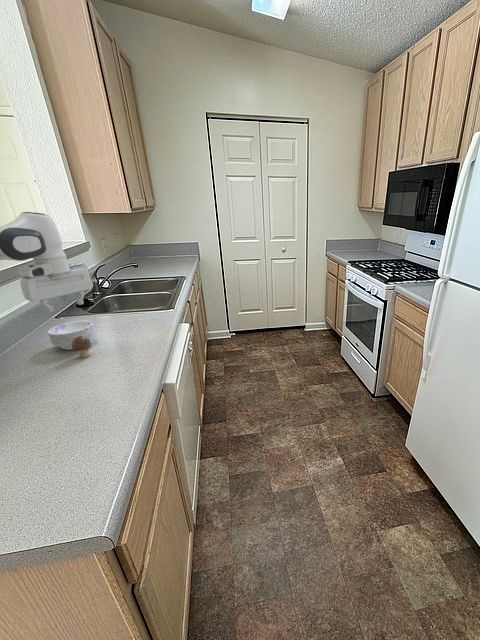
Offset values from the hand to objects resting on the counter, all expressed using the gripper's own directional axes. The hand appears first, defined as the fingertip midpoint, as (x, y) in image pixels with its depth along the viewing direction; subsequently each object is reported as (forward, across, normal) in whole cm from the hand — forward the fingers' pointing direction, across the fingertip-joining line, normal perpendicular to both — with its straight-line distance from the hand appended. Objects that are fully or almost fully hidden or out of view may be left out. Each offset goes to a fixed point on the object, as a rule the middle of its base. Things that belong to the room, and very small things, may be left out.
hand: (66, 307), depth 113 cm
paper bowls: (+19, -5, -13) cm, 23 cm away
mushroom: (+19, -1, 0) cm, 19 cm away
